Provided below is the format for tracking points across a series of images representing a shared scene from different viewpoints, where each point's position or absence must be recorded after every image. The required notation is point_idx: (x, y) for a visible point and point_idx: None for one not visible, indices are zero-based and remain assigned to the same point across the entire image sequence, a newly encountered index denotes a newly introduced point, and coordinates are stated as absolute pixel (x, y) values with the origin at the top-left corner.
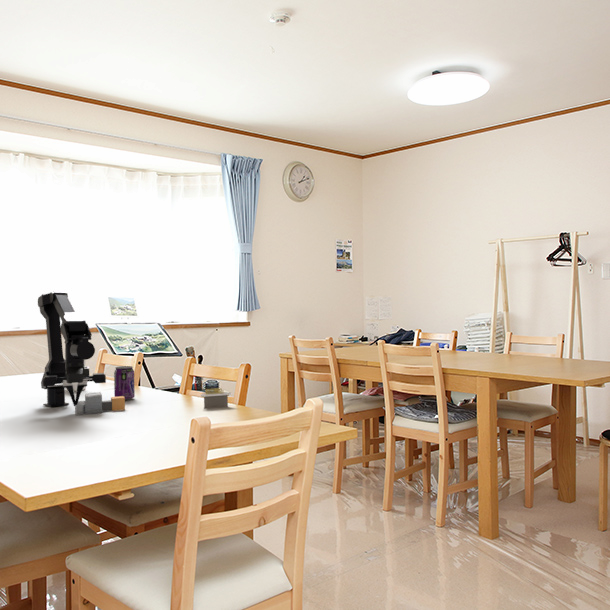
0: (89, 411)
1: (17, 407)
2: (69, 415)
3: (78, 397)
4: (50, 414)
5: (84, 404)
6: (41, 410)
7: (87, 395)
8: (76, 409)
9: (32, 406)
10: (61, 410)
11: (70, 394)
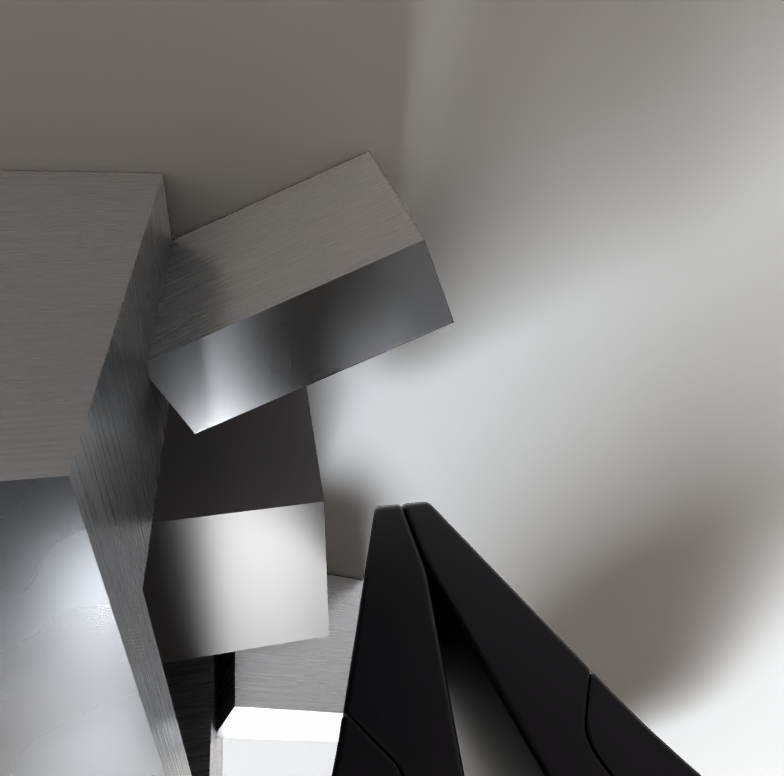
0: (43, 187)
1: (760, 752)
2: (509, 182)
3: (373, 670)
4: (720, 412)
5: (173, 345)
6: (686, 646)
7: (62, 748)
8: (397, 200)
9: None
10: None
11: (640, 737)
